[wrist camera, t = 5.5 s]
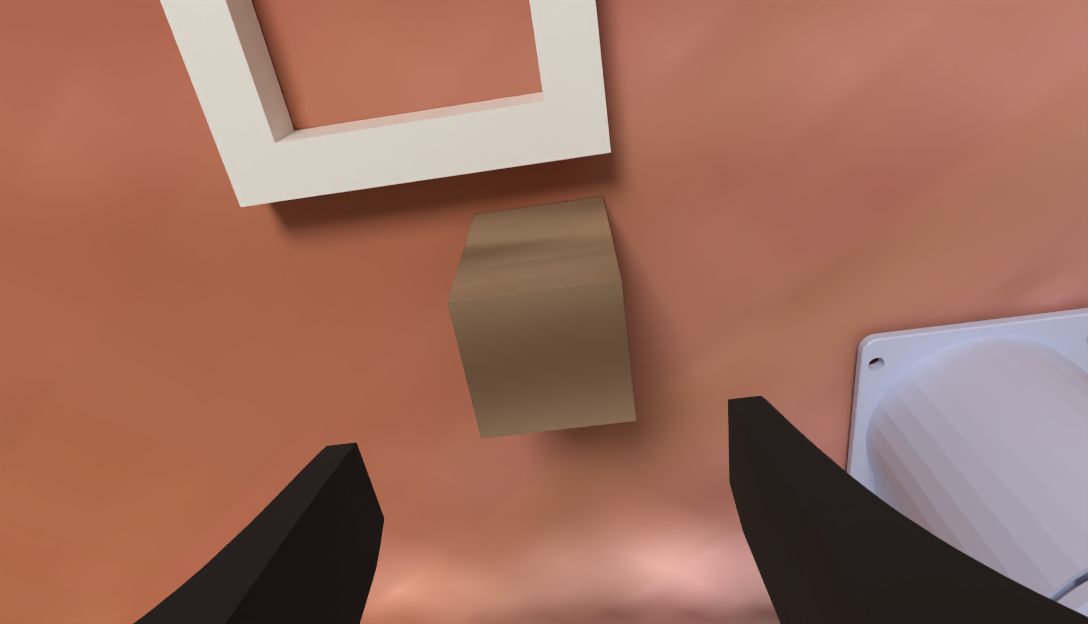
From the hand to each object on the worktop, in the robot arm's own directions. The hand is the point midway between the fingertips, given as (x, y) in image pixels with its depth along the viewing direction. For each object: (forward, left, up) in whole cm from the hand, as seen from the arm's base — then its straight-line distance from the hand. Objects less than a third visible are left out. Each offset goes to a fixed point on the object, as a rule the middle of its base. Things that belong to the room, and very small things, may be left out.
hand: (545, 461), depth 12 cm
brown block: (0, 0, -10) cm, 10 cm away
